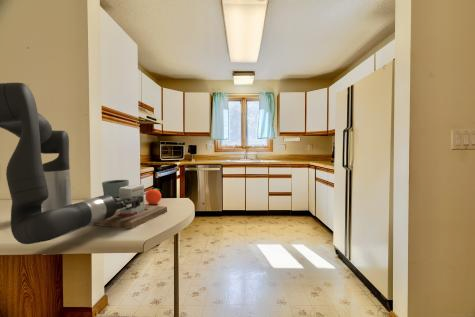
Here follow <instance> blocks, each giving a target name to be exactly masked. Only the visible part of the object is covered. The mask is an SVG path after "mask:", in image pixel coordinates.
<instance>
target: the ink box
mask: <svg viewBox="0 0 475 317" xmlns="http://www.w3.org/2000/svg"><path fill="white" fill-rule="evenodd" d="M144 188H145V185H144V184H129V186H125V187H121V188H120V189H119V198H130V199H131V198H136V197H139V196H143V202H142V203H140V206H138V207H135V208H132V209H129V210H126V208H125V209H121V210H120V216H124V217H131V216H134V215H136V214H138V213H141V212H143V211H145V205H146V203H145V189H144ZM125 202H127V200H125Z"/></svg>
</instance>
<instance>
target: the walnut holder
mask: <svg viewBox="0 0 475 317" xmlns="http://www.w3.org/2000/svg"><path fill="white" fill-rule="evenodd" d="M167 212H168V207H167V206H163V205H151V204H149V205H147V204H145V211H143V212H141V213H138V214H136V215H134V216H131V217H124V216H120V210H117V211H116V212H115V214H114V215H113V216H112V217H110V218H107V219H105V220H102V221H99V222H97V223H94V224H93V225H97V226H104V227H105V226H106V227H112V228H113V227H114V228H124V229H134V228H136V227H138V226H140V225H142V224H144V223H146V222H149V221H150V220H152V219H154V218H157V217H158V216H161V215H163V214H165V213H167Z"/></svg>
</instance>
